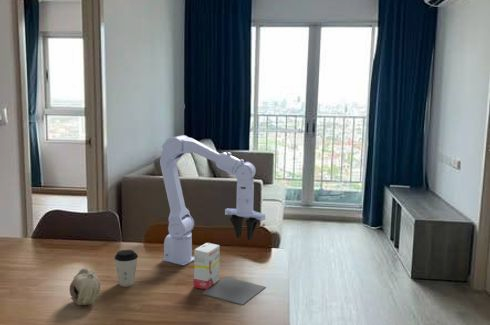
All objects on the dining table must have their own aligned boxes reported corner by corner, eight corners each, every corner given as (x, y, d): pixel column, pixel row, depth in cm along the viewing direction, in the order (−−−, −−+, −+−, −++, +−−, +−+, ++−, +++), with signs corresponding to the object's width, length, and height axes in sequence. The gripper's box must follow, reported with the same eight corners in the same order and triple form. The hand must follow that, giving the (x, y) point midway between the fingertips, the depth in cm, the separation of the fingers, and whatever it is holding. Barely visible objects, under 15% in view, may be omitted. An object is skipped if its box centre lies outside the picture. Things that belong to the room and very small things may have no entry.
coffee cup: (142, 280, 144) (142, 250, 142) (130, 289, 137) (129, 257, 136) (123, 277, 146) (122, 247, 145) (110, 286, 140) (109, 254, 138)
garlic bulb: (78, 295, 133) (77, 262, 132) (107, 296, 132) (106, 263, 131) (62, 310, 124) (61, 274, 122) (93, 312, 123) (92, 276, 121)
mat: (201, 293, 135) (201, 292, 135) (226, 278, 147) (226, 277, 147) (242, 305, 128) (243, 304, 128) (265, 287, 140) (265, 286, 140)
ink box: (207, 290, 138) (207, 252, 136) (193, 287, 140) (193, 250, 138) (220, 280, 146) (220, 244, 144) (206, 277, 148) (206, 242, 146)
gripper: (220, 198, 153) (219, 237, 155) (258, 203, 146) (257, 244, 148) (231, 194, 159) (230, 232, 161) (268, 199, 152) (267, 239, 154)
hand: (244, 238), depth 155 cm, fingers open, 4 cm apart
